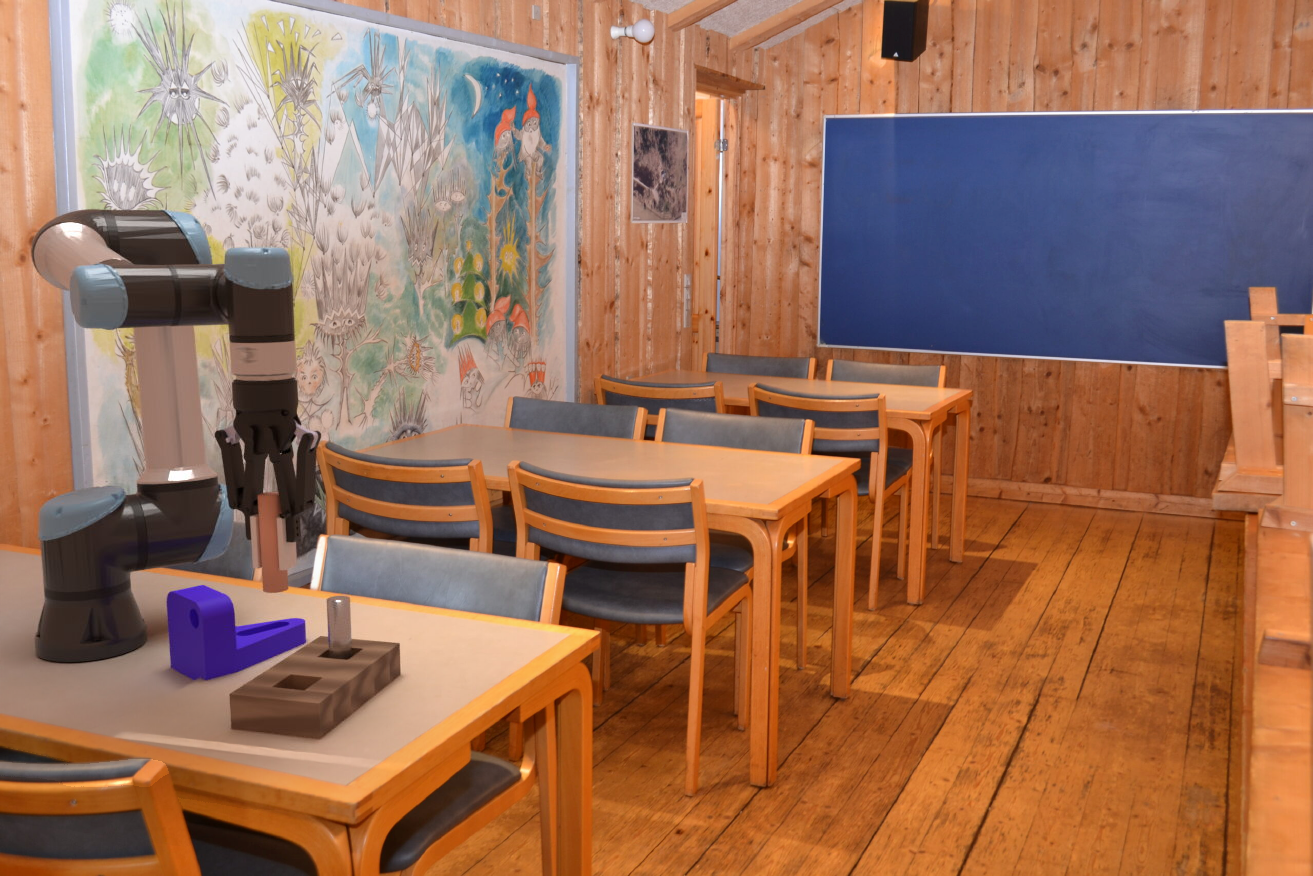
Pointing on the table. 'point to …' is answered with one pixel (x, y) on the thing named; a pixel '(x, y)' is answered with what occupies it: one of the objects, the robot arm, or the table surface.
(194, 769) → the table surface
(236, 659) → the bracket
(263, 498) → the peg
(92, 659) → the robot arm
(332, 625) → the grey peg
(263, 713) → the hole block
